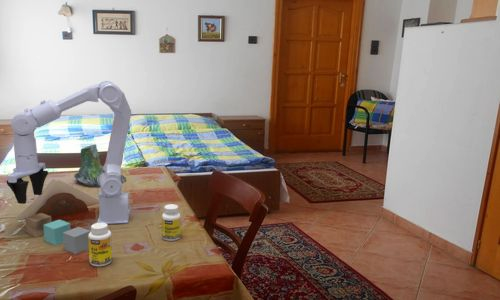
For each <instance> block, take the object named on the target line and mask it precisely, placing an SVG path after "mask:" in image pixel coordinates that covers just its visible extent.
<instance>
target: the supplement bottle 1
mask: <svg viewBox="0 0 500 300" xmlns="http://www.w3.org/2000/svg"><path fill="white" fill-rule="evenodd" d="M88 240H89V249H88V256H89V257H88V259H89V264H90V265H92V266H94V267H104V266H107V265H109V264H110V263H112V262H113V246H112V245H113V244H112V240H113V239H112V232H111V230H109V224H106V223H97V222H95V223H93V224H92V225H91V227H90V233H89V235H88Z"/></svg>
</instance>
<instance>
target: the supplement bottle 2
mask: <svg viewBox="0 0 500 300" xmlns="http://www.w3.org/2000/svg"><path fill="white" fill-rule="evenodd" d="M163 210H164V211H163V213H162V215H161V237H162V239H163V240H165V241H168V242H174V241H177V240H179V239H180V238H181V232H182V231H181V228H182V227H181V226H182V225H181V224H182V223H181V222H182V221H181V220H182V218H181V214H180V213H179V205H177V204H172V203H171V204H170V203H169V204H166V205H165V206H164V207H163Z"/></svg>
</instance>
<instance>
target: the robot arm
mask: <svg viewBox="0 0 500 300" xmlns="http://www.w3.org/2000/svg"><path fill="white" fill-rule="evenodd" d="M99 100H101V102H102V103H104V104H105V105H106V106H108V107H109V109H110V110H111V111H112V112H113V114H114V117H113V120H112V121H113V122H112V124H111V125H112V126H111V132H110V136H109V140H108V141H109V142H108V146H107V147H108V148H107V152H106V153H107V154H106V158H105V162H104V165H103V166H104V167H103V171H102V172H101V173H100V175H99V177H98V182H99V184H100V186H101V187H100V190H99V191H98V193H97V194H98V210H99V211H98V212H99V213H98V214H99V216H98V219H97V221H96V223H106V224H107V225H113V224H128V223H129V221H130V215H131V209H130V207H131V206H130V194H129V192H123V191H122V189H123V183H121V179H120V178H121V175H122V163H123V158H124V153H125V148H126V142H127V137H128V132H129V125H130V121H131V116H132V109H131V107H130V104H129V103H128V100H127V97H126V96H125V92H124V91H122V89H121V88H120V87H119V86H118V85H117V84H115V83H114V82H111V81H108V80H105V81H104V80H103V81H101V82H100V83H95V84H92V85H89V86H86V87H84V88H82V89H80V90H79V91H76V92H74V93H72V94H70V95H68V96H66V97H64V98H62V99H60V100H58V101H53V100H47V101H46V100H44V99H43V100H41V101H40V104H37V105H36V106H34V107H31V108H29V109H28V108H25V109H24V110H23V111H24V112H23V111H22V112H18V113H16V114H15V115H14V116H13V118H12V119H11V122H10V128H11V129H12V137H13V140H12V141H13V150H14V160H15V168H12V170H13V171H12V172H11V174H8V175H7V180H6V185H7V186H8V187H9V188H10V189H11V191H12V193H13V195H14V197H15V200H16V202H17V204H19V205H26V203H27V191H28V187H29V186H28V185H29V182H30V183H31V187H32V192H33V195H34V196H42V194H43V190H44V185H45V181H46V179H47V176H48V175H49V171H48V170H46V163H45V162H39V161H38V151H37V150H38V149H37V140H36V139H37V138H36V137H35V130H34V129H35V128H41V127H42V126H46V125H47V124H49V123H52V122H53V121H56V120H58V119H60V118H61V115H62V113H63V112H65V111H67V110H70V109H72V108H74V107H77V106H80V105H81V104H84V103H87V102H92V103H93V102H94V103H99ZM26 177H29V179H30V181H29V180H24V179H25V178H26Z"/></svg>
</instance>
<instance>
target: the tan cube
mask: <svg viewBox="0 0 500 300" xmlns="http://www.w3.org/2000/svg"><path fill="white" fill-rule="evenodd" d="M24 220H25V229H26V234H27V235H29V236H32V237H33V238H39V237H43V236H44V226H43V225H45V224H48V223H51V222H53V221H52V216H51V215H48V214H46V213H43V212H40V213H36V214H34V215H31V216H27V217H25V219H24Z"/></svg>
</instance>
